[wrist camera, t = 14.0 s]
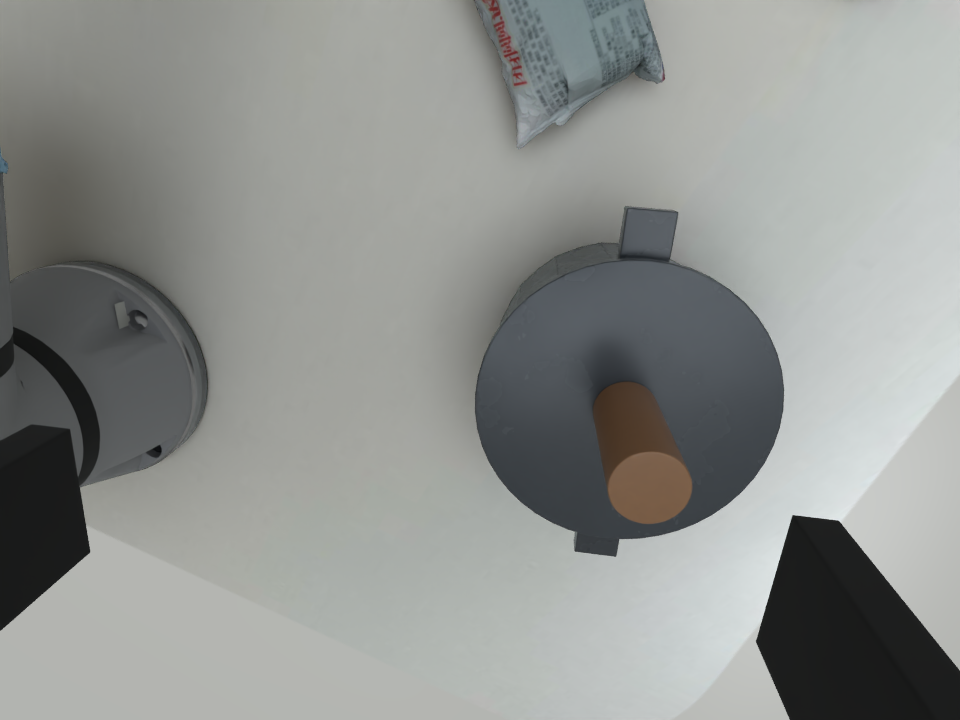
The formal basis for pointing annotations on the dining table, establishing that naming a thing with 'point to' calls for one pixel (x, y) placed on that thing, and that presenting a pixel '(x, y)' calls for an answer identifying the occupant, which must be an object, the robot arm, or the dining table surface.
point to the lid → (629, 398)
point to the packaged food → (567, 53)
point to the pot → (638, 239)
